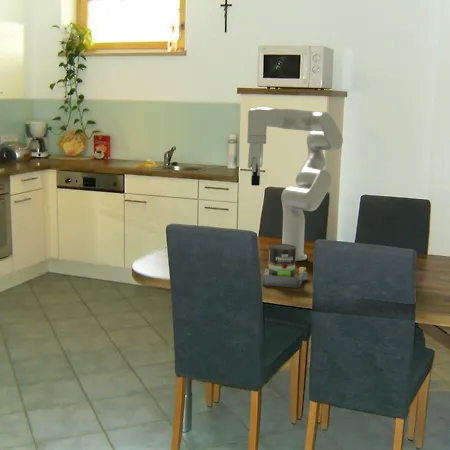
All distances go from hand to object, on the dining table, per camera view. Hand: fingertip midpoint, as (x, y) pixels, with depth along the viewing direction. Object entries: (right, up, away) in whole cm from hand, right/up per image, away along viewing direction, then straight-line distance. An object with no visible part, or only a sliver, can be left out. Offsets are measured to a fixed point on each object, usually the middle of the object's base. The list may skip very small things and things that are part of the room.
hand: (255, 185), depth 279 cm
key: (+19, -35, +1) cm, 40 cm away
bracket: (+10, -38, -14) cm, 42 cm away
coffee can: (+9, -38, -14) cm, 42 cm away
